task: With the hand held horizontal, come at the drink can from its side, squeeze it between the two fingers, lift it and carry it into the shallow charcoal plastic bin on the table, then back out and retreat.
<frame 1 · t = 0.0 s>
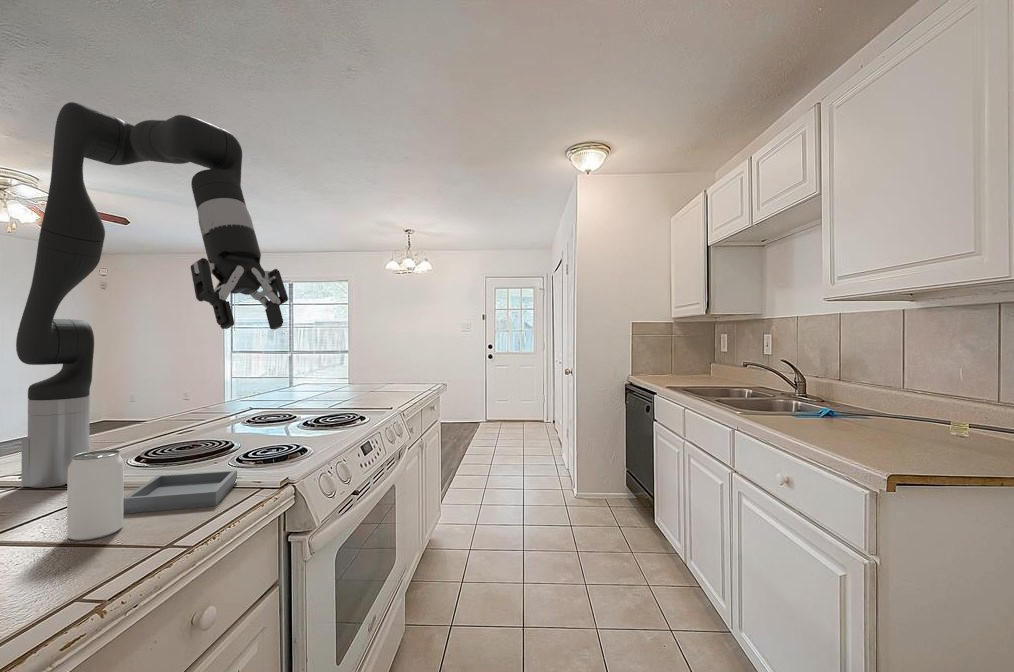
hand: (253, 327, 75), 31 cm above the counter, tool tilted 20°, fingers open, 8 cm apart
can: (95, 534, 73), on the counter
bin: (185, 496, 89), on the counter
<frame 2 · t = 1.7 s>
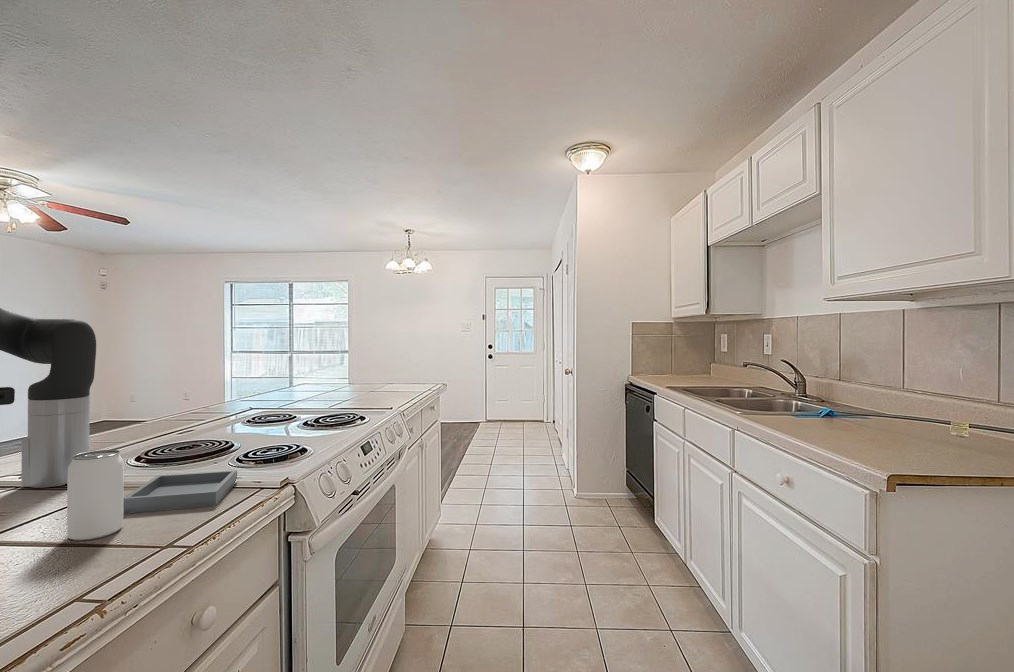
hand: (0, 393, 63), 22 cm above the counter, tool horizontal, fingers open, 8 cm apart
nothing on the counter moved.
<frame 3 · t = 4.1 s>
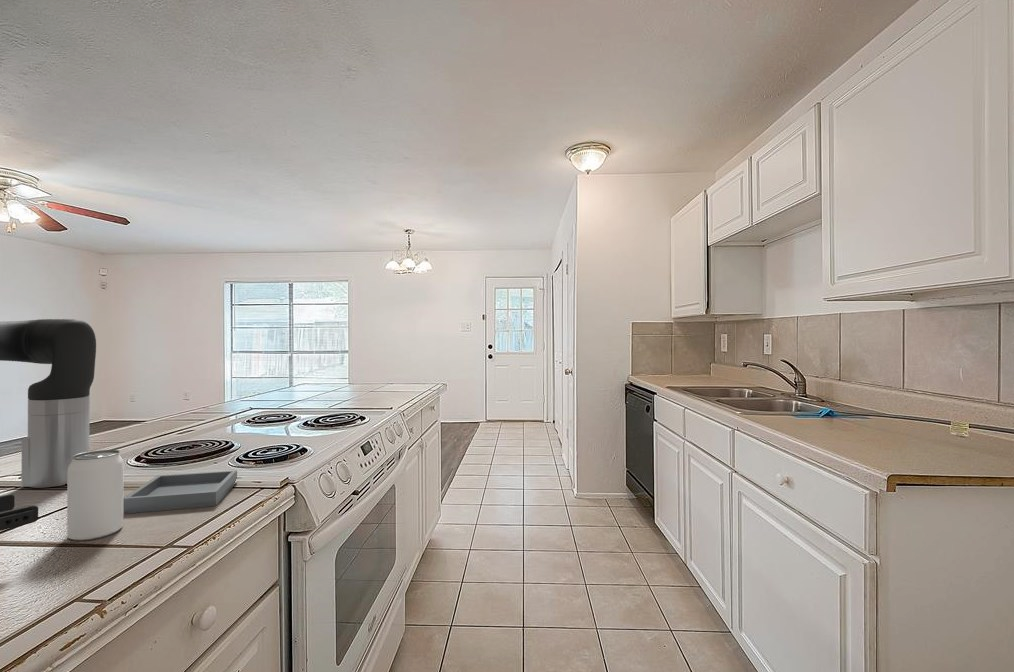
hand: (25, 506, 66), 6 cm above the counter, tool horizontal, fingers open, 8 cm apart
nothing on the counter moved.
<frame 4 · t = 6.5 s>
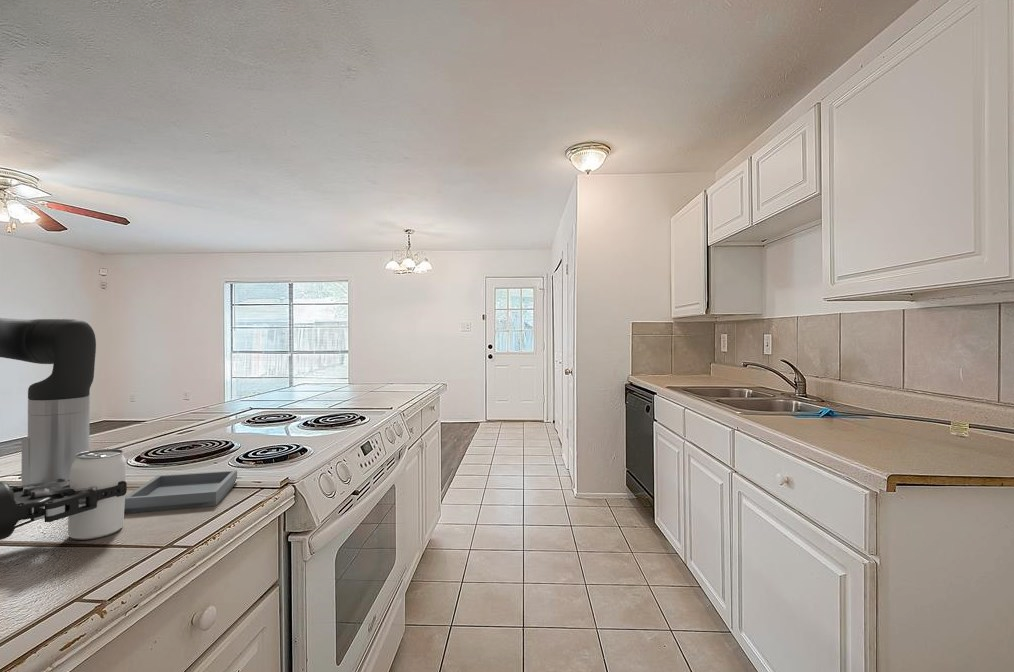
hand: (115, 484, 75), 7 cm above the counter, tool horizontal, fingers closed on can, 5 cm apart
can: (96, 533, 73), on the counter, touching gripper
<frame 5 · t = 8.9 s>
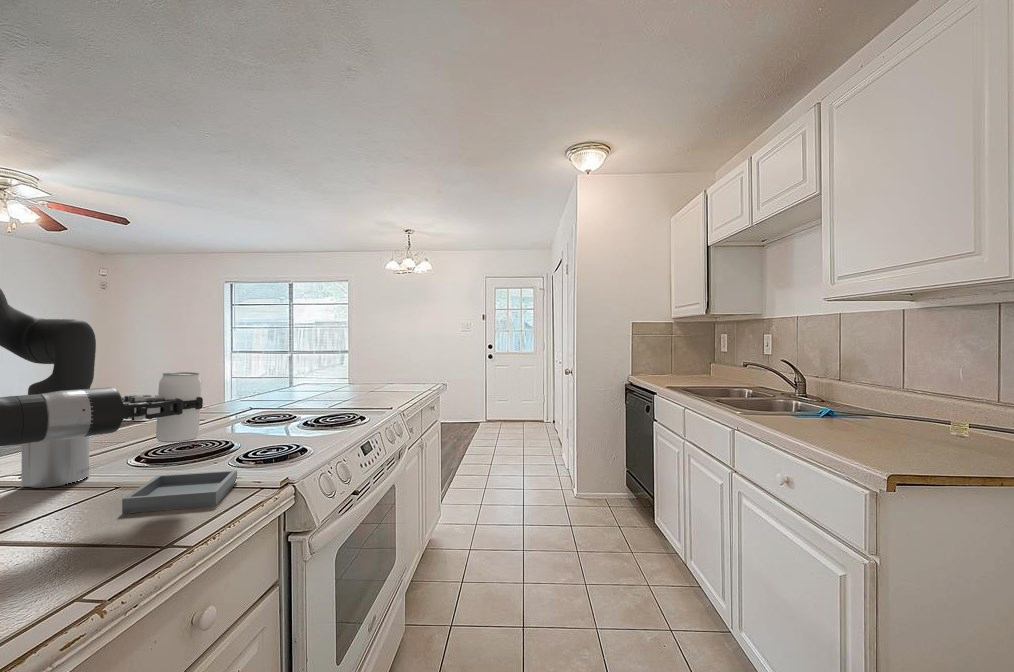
hand: (192, 401, 89), 18 cm above the counter, tool horizontal, fingers closed on can, 5 cm apart
can: (177, 440, 87), point 11 cm above the counter, touching gripper
when the fingers open (8 cm above the counter, at t = 11.4 s): can stays where it is, resting on bin.
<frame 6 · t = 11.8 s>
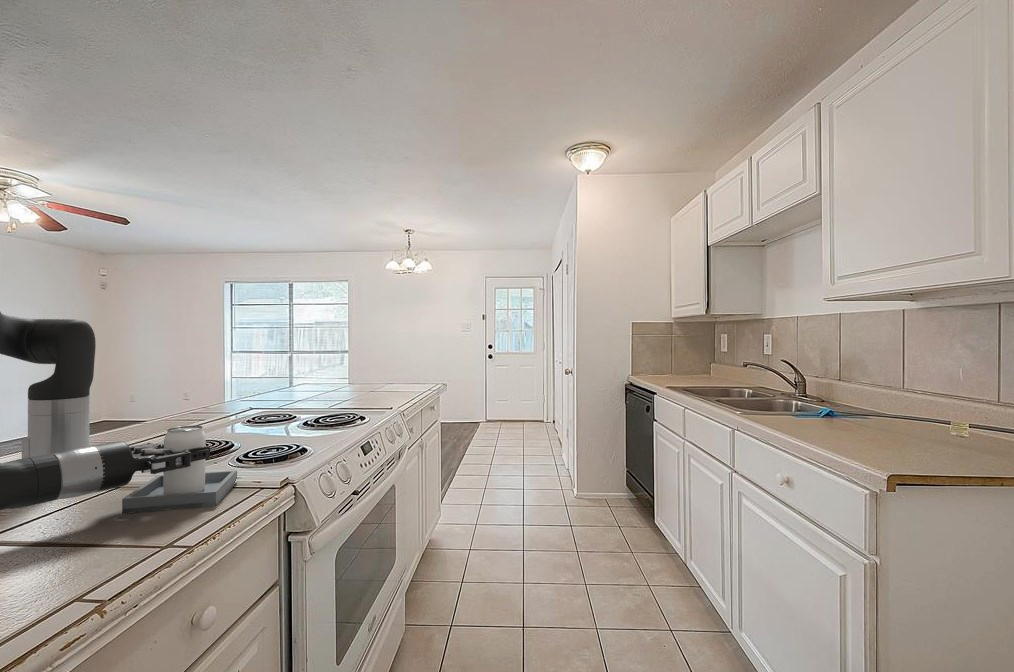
hand: (196, 448, 91), 8 cm above the counter, tool horizontal, fingers open, 8 cm apart
can: (184, 493, 89), point 1 cm above the counter, touching bin
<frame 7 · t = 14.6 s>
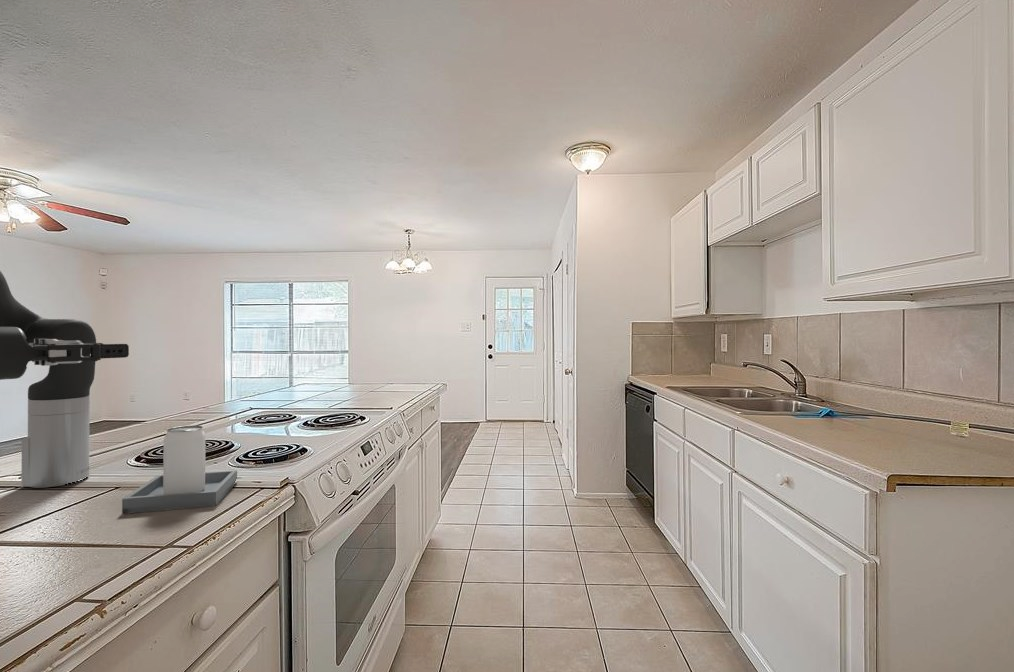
hand: (115, 349, 79), 28 cm above the counter, tool horizontal, fingers open, 8 cm apart
nothing on the counter moved.
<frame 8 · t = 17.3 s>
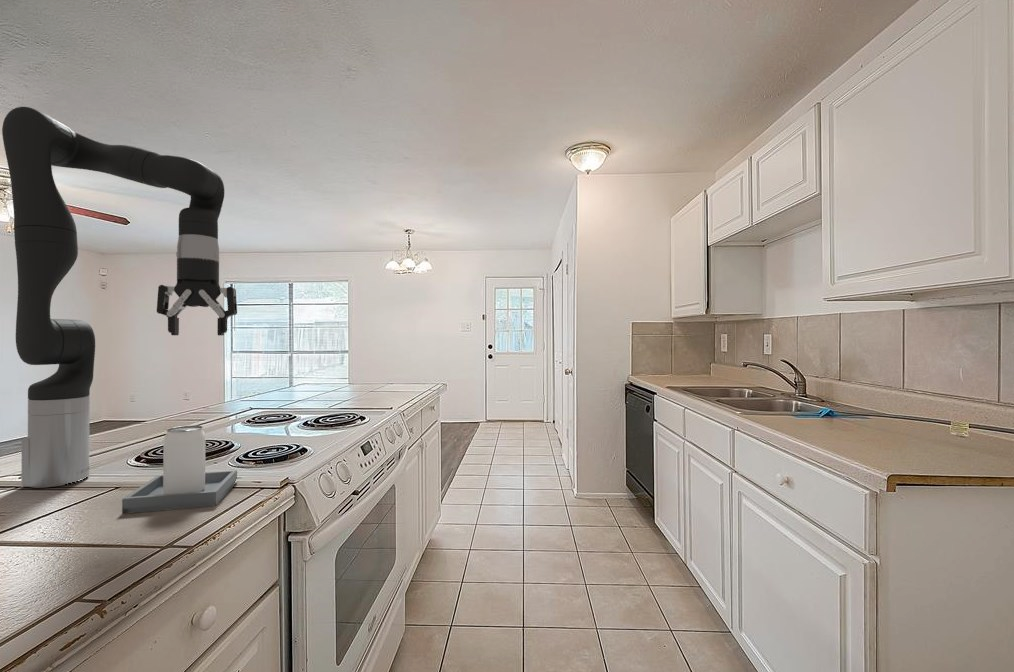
hand: (198, 335, 101), 30 cm above the counter, tool pointing down, fingers open, 8 cm apart
nothing on the counter moved.
at the end: can inside the target area on the bin (0.3 cm from its centre), point 0.6 cm above the bin's base; can tilted 0°; the gripper is holding nothing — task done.
